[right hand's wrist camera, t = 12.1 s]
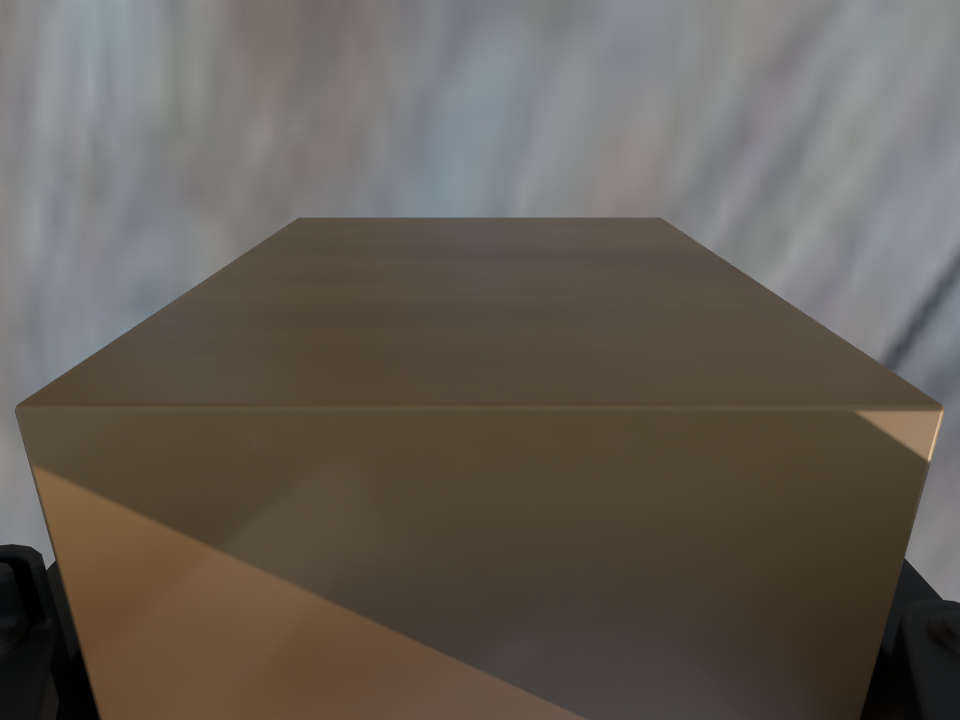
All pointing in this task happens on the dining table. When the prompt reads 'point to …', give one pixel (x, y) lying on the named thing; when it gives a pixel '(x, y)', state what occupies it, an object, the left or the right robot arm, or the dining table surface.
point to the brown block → (479, 484)
